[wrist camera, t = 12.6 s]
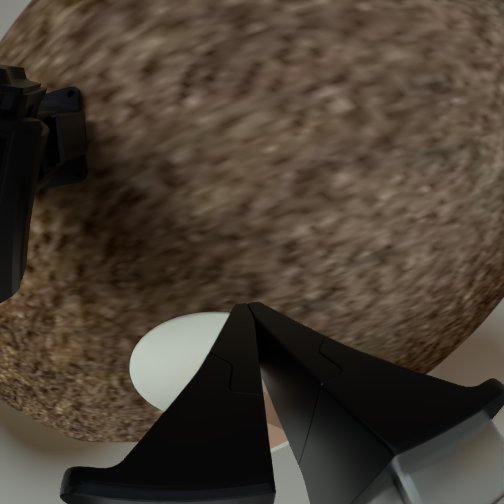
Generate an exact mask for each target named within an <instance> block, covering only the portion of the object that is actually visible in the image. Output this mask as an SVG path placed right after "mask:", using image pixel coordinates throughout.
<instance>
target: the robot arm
mask: <svg viewBox="0 0 504 504" xmlns="http://www.w3.org/2000/svg"><path fill="white" fill-rule="evenodd" d="M40 86H41V84H40V83H37V82H33V81H29V80H28V79H27V78H26V75H25V72H24V68H21V67H16V66H7V65H0V303H2V302H4V301H5V300H7V299H8V298H10V297H12V296H13V295H14V294H15V293H16V292H17V291H18V290H19V288H20V281H21V280H22V278H23V275H24V272H25V269H26V262H27V249H28V239H29V230H30V222H31V215H32V208H33V202H34V196H35V192H36V191H37V190H41V189H46V188H50V187H55V186H61V185H66V184H71V183H77V182H81V181H83V180H84V179H85V178H86V177H87V165H86V158H85V153H86V151H87V150H88V147H87V138H86V128H85V116H84V113H82V112H81V108H80V92H79V89H78V88H77V87H67V88H64V89H60V90H56V91H53V92H50V93H46V91H47V88H44V87H40ZM72 90H73V91H74V95H73V97H70V92H71V91H72ZM78 171H81V172H82V177H79V176H78ZM262 379H263V382H264V384H265V387H266V389H267V392H268V394H269V396H270V399H271V401H272V404H273V406H274V409H275V411H276V413H277V416H278V418H279V421H280V423H281V425H282V428H283V430H284V433H285V435H286V437H287V440H288V442H289V444H290V447H291V449H292V451H293V454H294V456H295V458H296V460H297V463H298V465H299V467H300V470H301V472H302V475H303V478H304V481H305V485H306V489H307V492H308V497H309V500H310V504H504V437H503V435H502V434H501V432H500V431H499V430H498V428H497V427H496V425H495V424H494V422H493V421H492V419H493V418H494V416H495V415H496V414H497V413H498V412H499V410H500V409H501V408H502V407H503V405H504V384H502V383H501V382H500V381H498V380H497V379H494V378H492V379H489V380H487V381H485V382H483V383H482V384H480V385H478V386H474V387H465V386H461V385H457V384H454V383H451V382H448V381H445V380H441V379H439V378H435V377H432V376H429V375H426V374H423V373H420V372H417V371H414V370H412V369H409V368H406V367H403V366H400V365H397V364H394V363H391V362H389V361H386V360H383V359H380V358H377V357H375V356H372V355H369V354H366V353H364V352H361V351H358V350H356V349H353V348H351V347H348V346H346V345H344V344H342V343H340V342H337V341H335V340H333V339H331V338H329V337H327V336H326V337H325V336H324V335H322V334H320V333H318V332H316V331H314V330H312V329H310V328H308V327H306V326H304V325H303V324H301V323H299V322H297V321H295V320H293V319H291V318H289V317H287V316H285V315H283V314H281V313H279V312H277V311H276V310H274V309H272V308H270V307H268V306H266V305H264V304H262V303H260V302H252V303H248V304H246V303H244V304H236V305H234V307H233V309H232V311H231V313H230V314H229V316H228V318H227V320H226V322H225V324H224V325H223V327H222V329H221V331H220V333H219V335H218V336H217V338H216V340H215V342H214V344H213V346H212V347H211V349H210V351H209V353H208V354H207V356H206V358H205V360H204V361H203V363H202V365H201V366H200V368H199V369H198V371H197V372H196V374H195V375H194V376H193V378H192V379H191V380H190V381H189V383H188V384H187V385H186V386H185V387H184V389H183V390H182V391H181V392H180V394H179V395H178V396H177V397H176V398H175V400H174V401H173V402H172V403H171V404H170V406H169V407H168V408H167V409H166V410H165V412H164V413H163V414H162V415H161V416H160V418H159V419H158V420H157V421H156V422H155V424H154V425H153V426H152V427H151V428H150V429H149V431H148V432H147V433H146V434H145V435H144V436H143V438H142V439H141V440H140V441H139V442H138V444H137V445H136V446H135V447H134V448H133V449H132V450H131V452H130V453H129V454H128V455H127V456H126V457H125V458H124V460H123V461H121V462H120V463H119V464H117V465H115V466H113V467H109V468H94V467H82V466H77V467H71V468H68V469H67V470H66V471H65V473H64V476H63V479H62V483H61V488H60V498H61V499H62V500H63V501H64V502H66V503H67V504H274V499H275V494H276V489H275V482H274V474H273V466H272V458H271V450H270V442H269V434H268V426H267V418H266V410H265V401H264V394H263V385H262Z"/></svg>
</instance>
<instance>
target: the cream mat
mask: <svg viewBox="0 0 504 504" xmlns="http://www.w3.org/2000/svg"><path fill="white" fill-rule="evenodd" d="M229 314H230V312H199V313H193V314H187V315H183V316H179V317H176V318H173V319H171V320H168V321H166V322H164V323H162V324H160V325H158V326H156V327H155V328H153V329H152V330H150V331H149V332H148V333H147V334H145V335H144V336H143V337H142V338H141V339H140V341H139V342H138V343H137V345H136V346H135V348H134V350H133V352H132V356H131V360H130V376H131V379H132V382H133V384H134V386H135V388H136V390H137V391H138V392H139V393H140V395H141V396H142V397H143V398H144V399H145V400H147V401H148V402H149V403H151V404H152V405H153V406H155V407H157V408H158V409H160V410H163V411H165V410H166V409H167V408H168V407H169V406H170V404H171V403H172V402H173V401H174V400H175V398H176V397H177V396H178V395H179V394H180V392H181V391H182V390H183V389H184V387H185V386H186V385H187V384H188V383H189V381H190V380H191V379H192V378H193V376H194V375H195V374H196V372H197V371H198V369H199V368H200V366H201V365H202V363H203V361H204V360H205V358H206V356H207V354H208V353H209V351H210V349H211V347H212V346H213V344H214V342H215V340H216V338H217V336H218V335H219V333H220V331H221V329H222V327H223V325H224V324H225V322H226V320H227V318H228V316H229ZM262 385H263V391H264V392H266V393H267V394H268V392H267V389H266V387H265V384H264V382H263V379H262Z"/></svg>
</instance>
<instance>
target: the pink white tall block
mask: <svg viewBox="0 0 504 504" xmlns="http://www.w3.org/2000/svg"><path fill="white" fill-rule="evenodd" d="M263 394H264V401H265V410H266V418H267V426H268V434H269V442H270V450H271V453H272V452H274V451H276V450H278V449H280V448H282V447H285V446H287V445H289V442H288V440H287V437H286V435H285V433H284V430H283V428H282V425H281V423H280V421H279V418H278V416H277V413H276V411H275V409H274V406H273V404H272V401H271V399H270V396H269V394H267V393H266V392H264V391H263Z"/></svg>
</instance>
